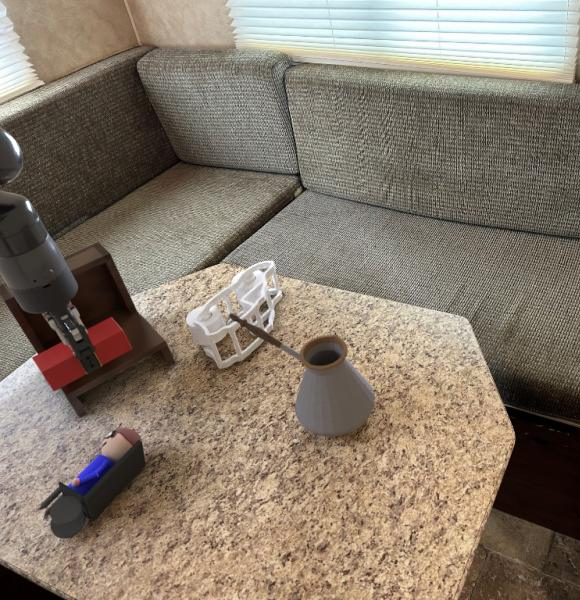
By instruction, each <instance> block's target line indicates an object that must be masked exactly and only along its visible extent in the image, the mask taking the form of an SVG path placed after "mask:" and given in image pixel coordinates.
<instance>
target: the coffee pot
mask: <svg viewBox="0 0 580 600" xmlns="http://www.w3.org/2000/svg"><path fill="white" fill-rule="evenodd" d="M234 314H235V315H234ZM237 314H238V313H237V312H235V311H234V313H233V314H229V315H228V317H227V320H226V321H225V322H226V325H230V324H231V323H232V322H233V321H235V322H238V323H239V324H240V326H241V327H240V328H245V329H247V330H248V331H250V332H252V333H253V334H254V335H255V336H254V335H253V336H254V337H257V338H258V337H259V338H261V339H263V340H264V342H266V343H269V344H271V345H273V346H274V347H276V348H278V349H280V350H282V351H284V352H285V353H287V354H289V356H292V357H293V358H294V359H296V360H297V361H300V363H301V364H302V365H303V366H304V367H305V370H304V373H303V375H302V380H301V382H300V385H299V389H298V392H297V395H296V399H295V403H294V411H295V412H294V413H295V416H296V418H297V420H298V422H299V423H300V424H301V426H303V427H304V429H306V430H307V431H308V432H311V433H313V434H314V435H317V436H320V437H325V438H326V437H327V438H332V437H333V438H334V437H341V436H344V435H347V434H350V433H352V432H354V431H356V430H357V429H359V428H360V427H362V426H363V425H364V424H365V423H366V421H367V420H368V419H369V418H370V416H371V414H372V412H373V410H374V408H375V400H376V396H375V392H374V388H373V386H372V385H371V384H370V382H369V381H368V380H367V378H365V377H364V376H363V375H362V374H361V372H360V371H359V370H358V369H357V368H356V367H355V366H354V365H353V364H352V363H351V361H349V359H347V356H348V352H349V348H348V344H346V341H344V339H343V338H342V337H341V336H339V335H337V334H327V335H326V334H324V335H320V336H316V337H314V338H311V339H310V340H308V341H307V342H306V343H304V344H303V346H302V348H301V349H300V351H297V350H295V349H294V348H292V347H289V345H286V344H285V343H284V342H282V341H280V340H279V339H278V338H276V337H275V336H273V335H272V334H270V333H267V332H266V331H264V330H263V329H261V328H260V327H257V326H255V325H252V324H250V323H248V322H247V320H246V319H241V318H239V316H237ZM229 319H232V321H231V322H230V323H229V324H227V322H228V320H229ZM250 332H249V333H250Z"/></svg>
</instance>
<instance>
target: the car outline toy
mask: <svg viewBox="0 0 580 600" xmlns="http://www.w3.org/2000/svg"><path fill="white" fill-rule="evenodd" d="M262 269H266V270H265V271H264V272H263V271H261V270H262ZM276 269H277V268H276V265H275V261H273V260H271V259H269V260H264V261H259V262H256V263H255V264H252V265H250V266H248V268H245V269H244V270H242V271H240V272H238V273H236V274H235V275H234V276H233V277H232V280H231V283H230V284H229V285H228V286H226V287H225V288H223V289H222V290H220V291H219V292H217V293H216V294H214V295H213V296H212V297H211V298H210V299H208V300H207V301H206V302H205V303H204V305H200V306H198V307H196V308H194V309H192V310H191V311H190V312H189V313H188V314H187V316H186V319H185V322H186V324H187V327H188V330H189V332H190V334H191V337H192V339H193V341H194V343H195V344H197V345H199V346H203V350H204V353H205V355H206V356H207V357H210V358H211V359H212V360H213V361H214V362H215V364H216V366H217V368H218V369H220V370H223V369H226V368H229V367H230V366H232V365H233V364H235V363H237V362H243V360H245V359H246V358H247V357H248V356H249V355H251V354H252V353H253V352H254V351H255V350H256V349H258V348H259V346H261V345H262V343H264V342H265V340H263V339H261V338H259V337H257V338H256V339H255V340H253V342H251V343H250V344H249V345H248V346H247V347H246V348H244V350H242V349H241V346H240V343H239V340H238V338H237V335H236V331H237V330H238V329H239V328H242V327H241V326H240V324H239V323H238V322H235V321H233V322H232V323H231V324H230V325H226V321H225V319H224V317H223V314H222V311H221V309H220V308H219V307H218V306H217V305H216V304H217V303H219V302H220V301H221V300H223V299H224V303H225V305H226V308H227V311H228V314H229V315H230V314H233V313H235V311H234V308H233V305H232V302H231V299H230V296H229V294H232V293H234V294H235V296H236V299H237V302H238V304H240V306H241V308H242V309H241V311H239V312H238V313H236V314H237V316H239V318H241V319H246V320H247V322H248V323H250V324H252V325H255V326H257V327H260V328H261V329H263V330H264V331H266V332H267V333H269V334H270V333H271V332H272V331H273V330H274V320H275V317H276V312H275V306H276V305H277V304H278V303H279V302H281V300H282V298H283V292H282V289H281V287H280V283H279V280H278V279H279V278H278V276H277V271H276ZM270 277H271V278H272V281H273V285H274V287H273V288H269V287H268V283H267V282H268V281H267V280H268V279H269V278H270ZM271 296H274V297H273V298H272V297H271ZM265 302H266V304H267V307H268V309H267V310H266V311H265V312H264V313H262V315H261V312H260V307H261V306H262V305H263V304H264V303H265ZM234 315H235V314H234ZM253 316H255V320H254V322H253V320H252V317H253ZM267 320H268V324H267V325H266V326H265V325H264V323H265V322H266V321H267ZM231 321H232V319H231V318H230V319H229V320H228V322H227V324H229V323H230V322H231ZM248 331H249V330H248ZM227 334H229V335H230V339H231V342H232V344H233V347H234V350H235V353H234V354H233V355H231V356H229V357H228V358H227V359H225V360H222V357H221V355H220V352H219V349H218V347H217V343H219V342H220V341H222V340H223V339H224V338H225V337H226V336H227ZM249 334H250V335H252V336H254V337H256V336H255V335H254V334H253V333H252V332H250V331H249Z"/></svg>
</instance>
